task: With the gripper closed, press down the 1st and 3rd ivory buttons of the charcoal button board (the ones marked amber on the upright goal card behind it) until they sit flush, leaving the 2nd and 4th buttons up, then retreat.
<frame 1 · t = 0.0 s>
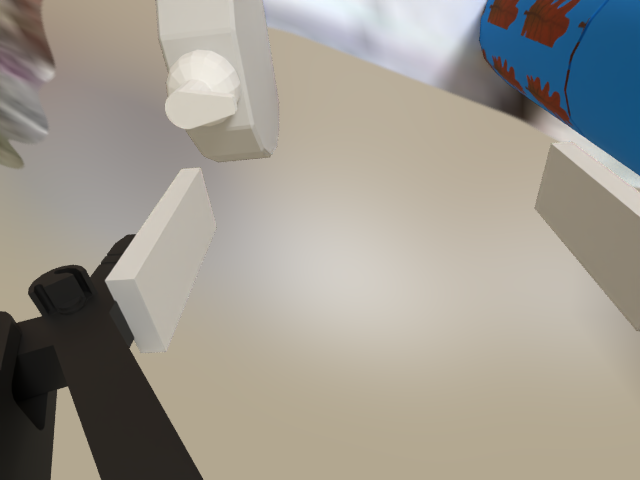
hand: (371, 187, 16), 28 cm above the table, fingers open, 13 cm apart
thermos: (537, 20, 37), on the table
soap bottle: (246, 45, 39), on the table
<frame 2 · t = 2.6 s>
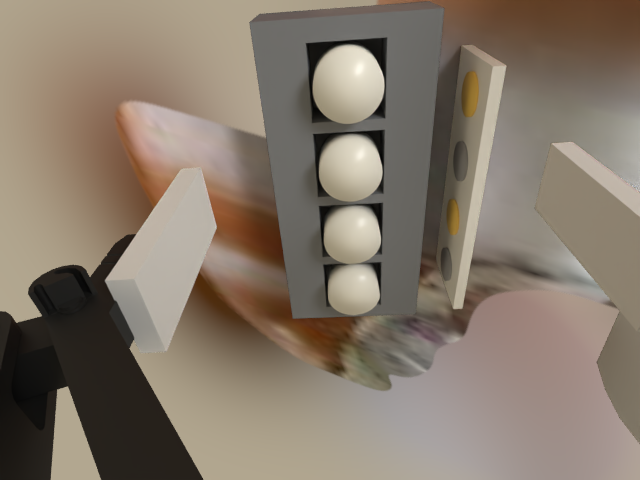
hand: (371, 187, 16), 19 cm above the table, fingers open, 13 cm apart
goal card: (451, 169, 36), on the table
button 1: (347, 82, 27), point 5 cm above the table, slide at 0.0 cm
board: (348, 175, 36), on the table
button 3: (351, 231, 34), point 5 cm above the table, slide at 0.0 cm
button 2: (349, 165, 31), point 5 cm above the table, slide at 0.0 cm
button 4: (353, 285, 38), point 5 cm above the table, slide at 0.0 cm
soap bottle: (633, 326, 47), on the table
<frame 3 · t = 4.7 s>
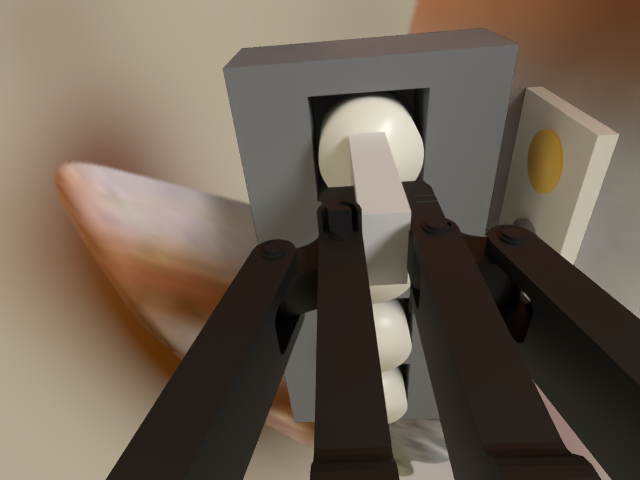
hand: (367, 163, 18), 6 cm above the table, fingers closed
goal card: (501, 242, 27), on the table
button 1: (368, 146, 19), point 4 cm above the table, slide at 0.4 cm, touching gripper
board: (365, 249, 28), on the table
button 3: (370, 330, 26), point 5 cm above the table, slide at 0.0 cm
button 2: (370, 253, 22), point 5 cm above the table, slide at 0.0 cm
button 4: (371, 388, 29), point 5 cm above the table, slide at 0.0 cm
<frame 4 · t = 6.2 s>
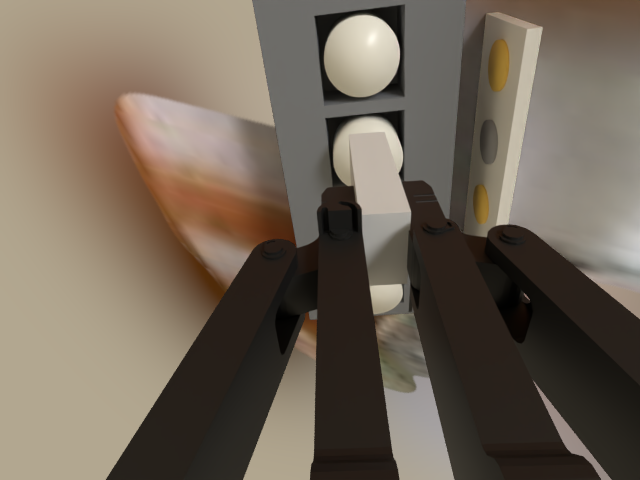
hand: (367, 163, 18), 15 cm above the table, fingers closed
goal card: (476, 153, 33), on the table
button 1: (360, 53, 26), point 3 cm above the table, slide at 1.5 cm
board: (364, 163, 34), on the table
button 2: (366, 151, 28), point 5 cm above the table, slide at 0.0 cm
button 4: (373, 282, 35), point 5 cm above the table, slide at 0.0 cm
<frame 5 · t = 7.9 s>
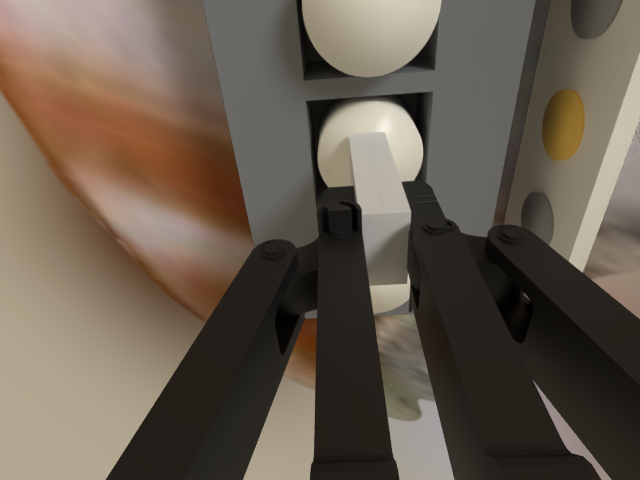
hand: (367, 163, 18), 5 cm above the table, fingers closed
goal card: (549, 46, 20), on the table
board: (361, 62, 20), on the table
button 3: (367, 145, 19), point 3 cm above the table, slide at 1.2 cm, touching gripper
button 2: (367, 0, 15), point 5 cm above the table, slide at 0.0 cm
button 4: (370, 261, 22), point 5 cm above the table, slide at 0.0 cm
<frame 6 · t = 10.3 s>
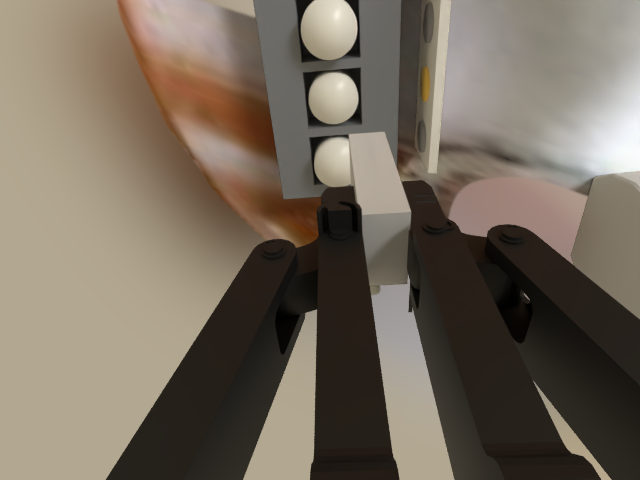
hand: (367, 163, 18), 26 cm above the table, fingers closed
goal card: (423, 47, 39), on the table
board: (330, 55, 40), on the table
button 3: (333, 95, 39), point 3 cm above the table, slide at 1.5 cm
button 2: (328, 27, 34), point 5 cm above the table, slide at 0.0 cm
button 4: (337, 160, 41), point 5 cm above the table, slide at 0.0 cm
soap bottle: (601, 215, 50), on the table
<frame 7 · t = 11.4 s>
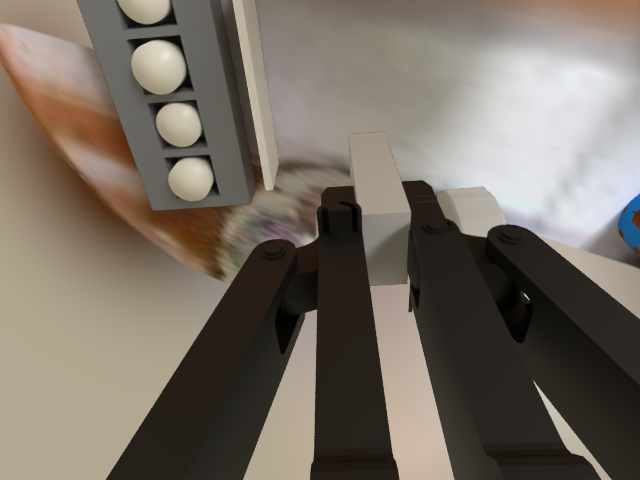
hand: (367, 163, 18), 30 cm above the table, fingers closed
goal card: (262, 79, 45), on the table
board: (182, 86, 45), on the table
button 3: (182, 121, 45), point 3 cm above the table, slide at 1.5 cm
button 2: (161, 66, 40), point 5 cm above the table, slide at 0.0 cm
button 4: (192, 177, 47), point 5 cm above the table, slide at 0.0 cm
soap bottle: (453, 225, 56), on the table
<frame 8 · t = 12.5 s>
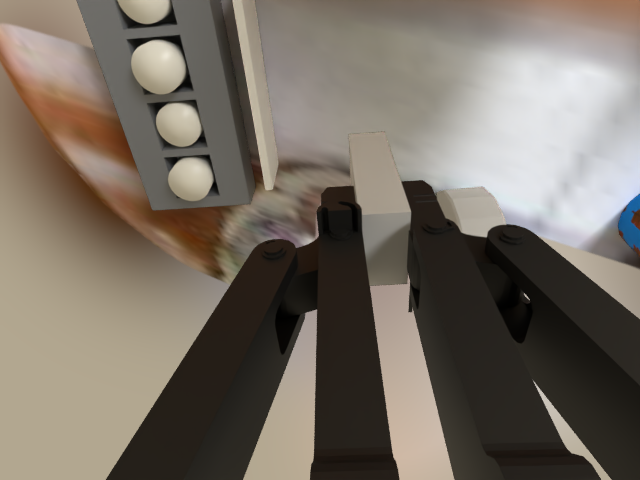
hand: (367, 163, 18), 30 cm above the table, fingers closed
goal card: (262, 79, 45), on the table
board: (182, 85, 45), on the table
button 3: (182, 121, 45), point 3 cm above the table, slide at 1.5 cm
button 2: (161, 66, 40), point 4 cm above the table, slide at 0.0 cm
button 4: (192, 177, 47), point 4 cm above the table, slide at 0.0 cm
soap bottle: (453, 225, 56), on the table
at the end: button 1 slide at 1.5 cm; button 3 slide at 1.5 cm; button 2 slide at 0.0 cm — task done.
